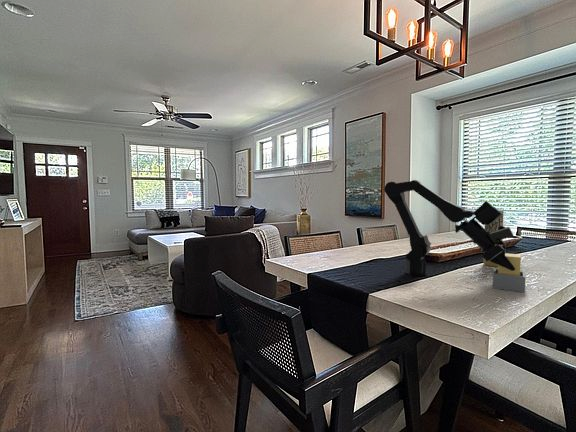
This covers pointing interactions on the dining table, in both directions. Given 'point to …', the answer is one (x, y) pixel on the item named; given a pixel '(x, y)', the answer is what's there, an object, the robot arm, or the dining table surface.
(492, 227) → the bark textured cylinder
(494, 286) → the sleeve
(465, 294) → the dining table surface
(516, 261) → the ochre block
